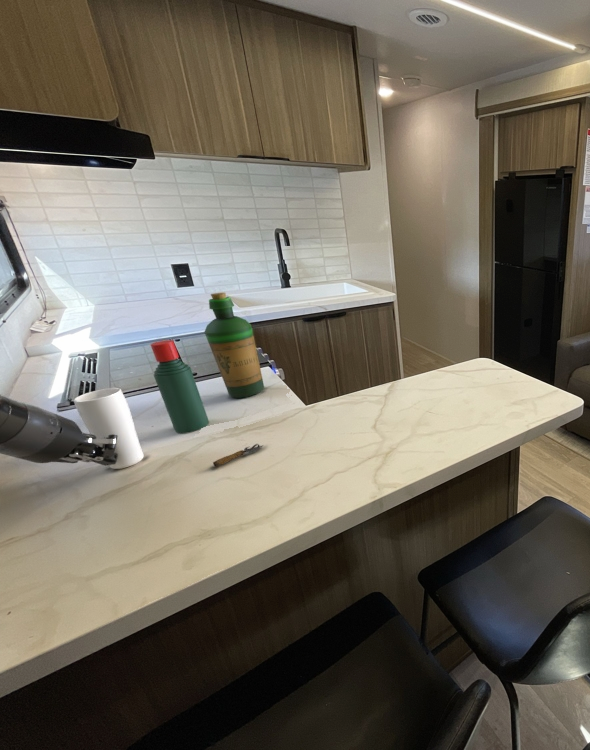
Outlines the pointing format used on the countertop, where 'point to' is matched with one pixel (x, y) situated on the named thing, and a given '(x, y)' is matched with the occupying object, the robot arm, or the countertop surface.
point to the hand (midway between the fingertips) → (112, 459)
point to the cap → (164, 350)
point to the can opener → (235, 455)
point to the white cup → (111, 423)
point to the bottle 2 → (234, 349)
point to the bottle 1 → (181, 396)
